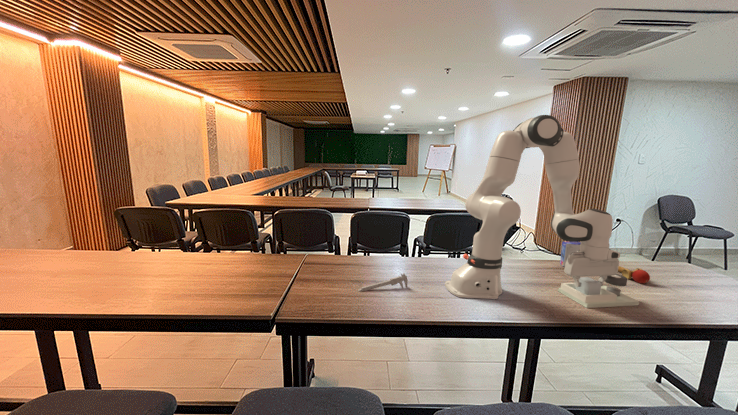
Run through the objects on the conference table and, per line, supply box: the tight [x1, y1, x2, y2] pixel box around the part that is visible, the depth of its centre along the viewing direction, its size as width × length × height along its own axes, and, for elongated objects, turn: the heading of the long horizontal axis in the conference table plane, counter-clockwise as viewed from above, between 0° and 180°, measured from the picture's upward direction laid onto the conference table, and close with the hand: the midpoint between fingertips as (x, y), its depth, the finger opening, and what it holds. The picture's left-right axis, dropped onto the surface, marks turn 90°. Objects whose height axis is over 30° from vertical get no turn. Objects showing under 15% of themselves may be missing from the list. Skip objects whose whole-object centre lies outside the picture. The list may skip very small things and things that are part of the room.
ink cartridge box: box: [559, 240, 581, 268], centre depth 155 cm, size 10×6×14 cm, turn 78°
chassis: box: [557, 282, 640, 309], centre depth 120 cm, size 22×14×4 cm, turn 98°
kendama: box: [617, 265, 651, 285], centre depth 143 cm, size 8×6×18 cm
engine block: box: [576, 276, 602, 295], centre depth 119 cm, size 5×6×6 cm
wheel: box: [604, 273, 628, 287], centre depth 120 cm, size 7×7×3 cm
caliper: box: [357, 272, 409, 292], centre depth 123 cm, size 20×1×6 cm, turn 104°
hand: (588, 286), depth 119 cm, fingers open, 8 cm apart
